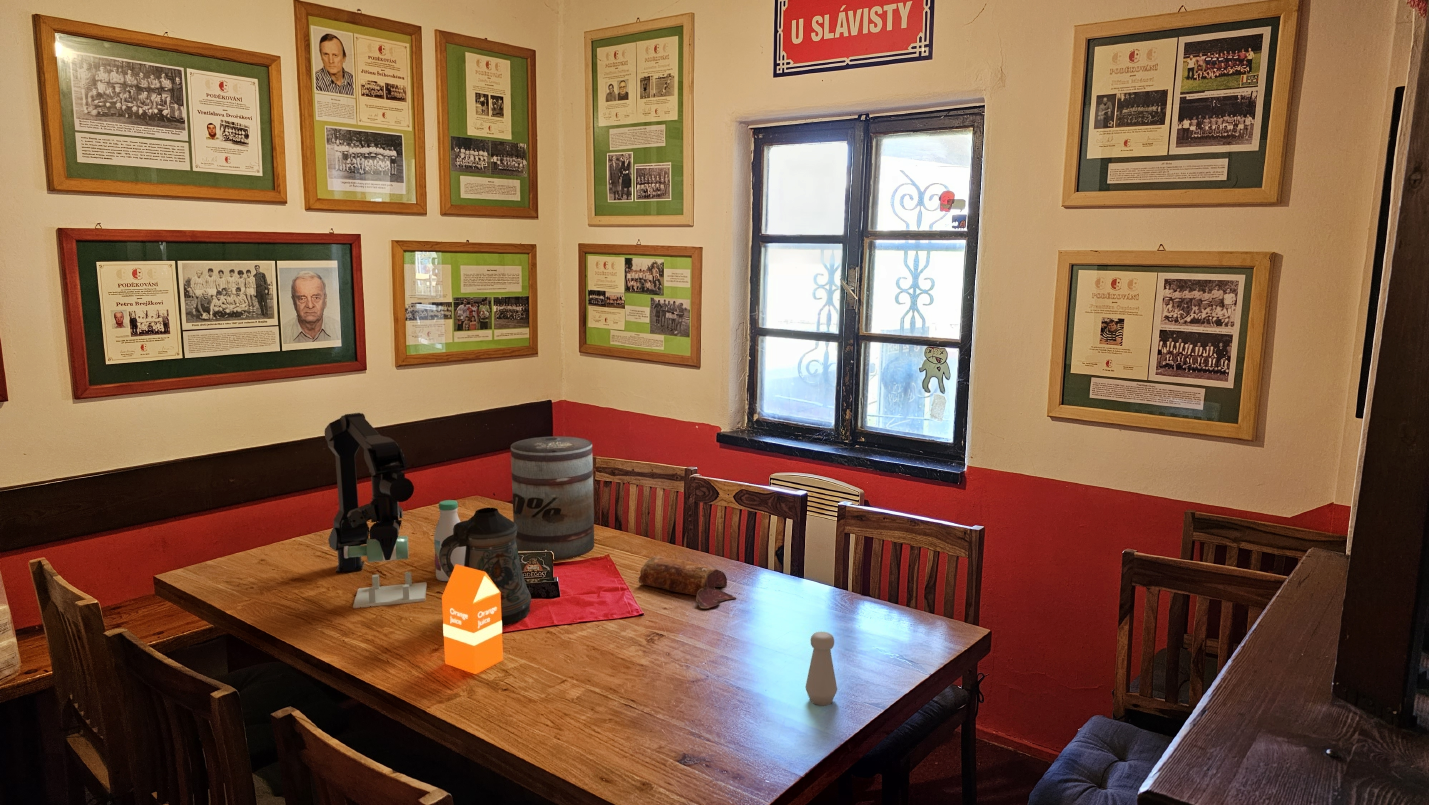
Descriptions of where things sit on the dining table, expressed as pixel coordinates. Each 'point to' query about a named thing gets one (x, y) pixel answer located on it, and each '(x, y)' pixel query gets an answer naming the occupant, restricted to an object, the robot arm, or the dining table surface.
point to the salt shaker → (821, 670)
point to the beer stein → (491, 558)
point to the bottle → (378, 550)
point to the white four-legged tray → (390, 593)
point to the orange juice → (472, 620)
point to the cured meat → (686, 579)
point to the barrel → (553, 495)
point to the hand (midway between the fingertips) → (388, 556)
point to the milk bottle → (443, 531)
